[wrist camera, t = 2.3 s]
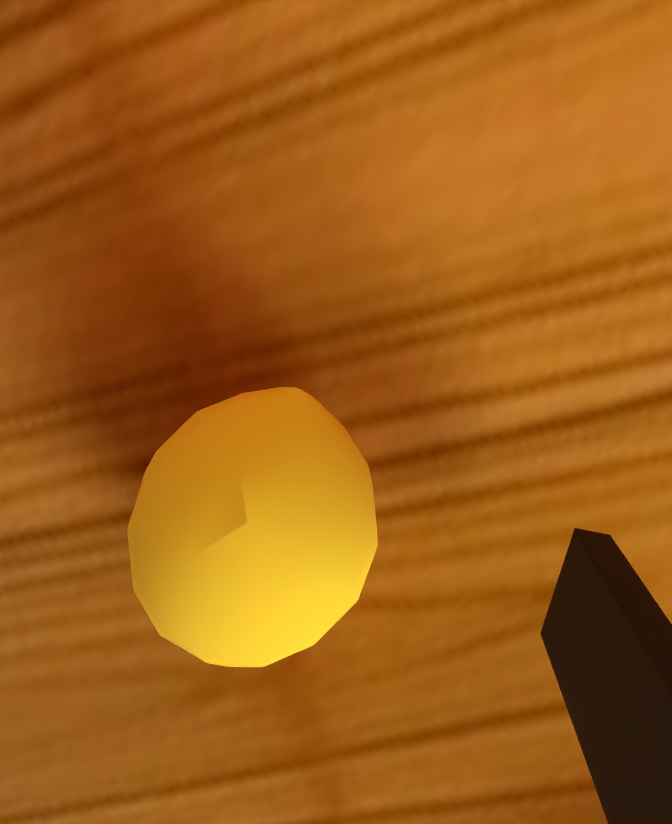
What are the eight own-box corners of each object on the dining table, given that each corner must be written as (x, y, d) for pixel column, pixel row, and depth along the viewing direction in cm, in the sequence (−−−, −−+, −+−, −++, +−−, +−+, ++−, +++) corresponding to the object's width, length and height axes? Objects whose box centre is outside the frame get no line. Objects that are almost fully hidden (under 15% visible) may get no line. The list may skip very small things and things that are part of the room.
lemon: (208, 327, 15) (120, 379, 10) (415, 393, 15) (431, 478, 10) (150, 563, 17) (53, 706, 12) (333, 620, 18) (313, 784, 12)
